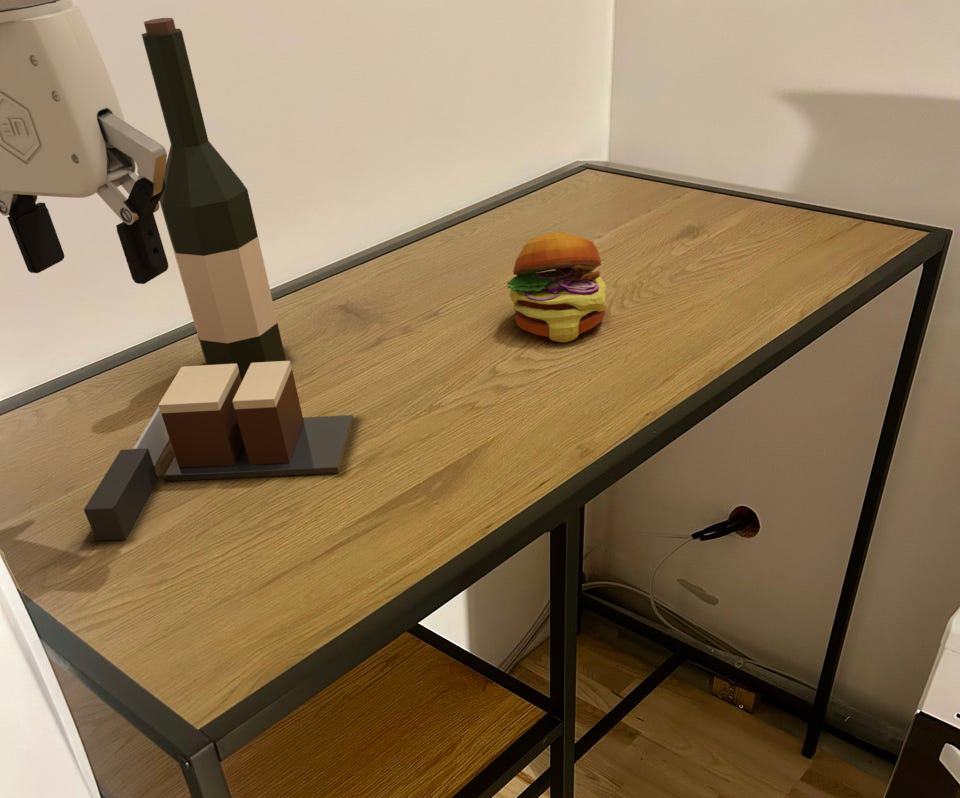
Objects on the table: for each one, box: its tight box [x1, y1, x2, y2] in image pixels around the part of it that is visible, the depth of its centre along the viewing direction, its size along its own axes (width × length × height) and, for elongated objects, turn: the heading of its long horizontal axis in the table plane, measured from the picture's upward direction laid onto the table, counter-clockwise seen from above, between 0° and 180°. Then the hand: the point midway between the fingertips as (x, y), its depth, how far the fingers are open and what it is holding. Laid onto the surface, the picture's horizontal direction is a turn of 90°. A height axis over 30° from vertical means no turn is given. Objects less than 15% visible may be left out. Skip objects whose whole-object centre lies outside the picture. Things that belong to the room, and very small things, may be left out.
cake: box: [157, 364, 244, 468], centre depth 82 cm, size 5×7×6 cm
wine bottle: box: [141, 17, 287, 381], centre depth 88 cm, size 8×8×30 cm
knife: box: [83, 406, 170, 542], centre depth 81 cm, size 18×2×3 cm, turn 178°
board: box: [164, 414, 355, 482], centre depth 84 cm, size 15×9×1 cm, turn 88°
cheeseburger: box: [506, 232, 607, 344], centre depth 97 cm, size 10×11×10 cm
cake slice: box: [232, 360, 304, 465], centre depth 82 cm, size 4×7×6 cm, turn 178°
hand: (98, 271), depth 68 cm, fingers open, 9 cm apart
